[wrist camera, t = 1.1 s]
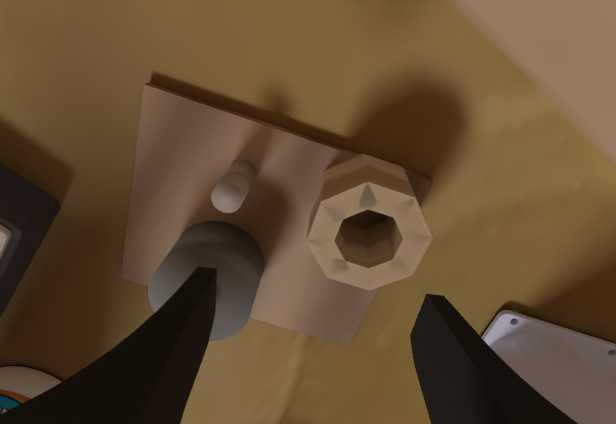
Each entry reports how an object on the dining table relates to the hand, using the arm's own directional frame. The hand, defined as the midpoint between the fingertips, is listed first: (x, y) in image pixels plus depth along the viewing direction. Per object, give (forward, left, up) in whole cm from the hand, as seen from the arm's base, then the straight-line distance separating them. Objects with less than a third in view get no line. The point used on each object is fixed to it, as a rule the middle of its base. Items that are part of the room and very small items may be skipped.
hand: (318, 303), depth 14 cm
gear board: (+3, +4, -10) cm, 11 cm away
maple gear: (-2, 0, -10) cm, 10 cm away
